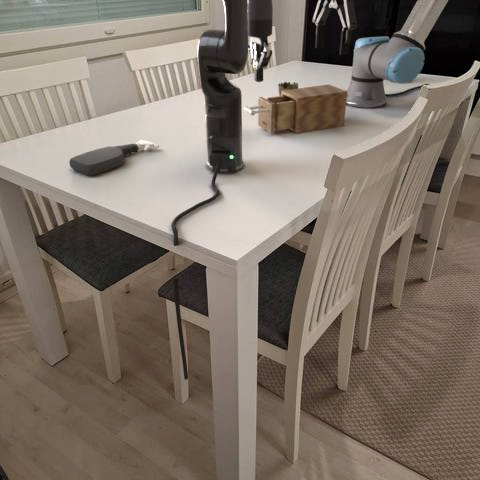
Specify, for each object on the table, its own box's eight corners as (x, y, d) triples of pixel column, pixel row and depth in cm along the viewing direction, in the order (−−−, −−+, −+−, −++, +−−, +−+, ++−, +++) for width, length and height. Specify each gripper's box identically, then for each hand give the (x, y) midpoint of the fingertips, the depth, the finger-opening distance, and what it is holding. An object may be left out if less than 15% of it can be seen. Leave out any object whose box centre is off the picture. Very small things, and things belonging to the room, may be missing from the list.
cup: (274, 107, 166) (275, 85, 162) (282, 102, 172) (282, 80, 168) (293, 109, 163) (294, 87, 159) (300, 104, 169) (301, 82, 165)
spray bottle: (67, 168, 120) (139, 144, 136) (91, 178, 114) (163, 151, 130) (65, 157, 118) (137, 134, 134) (89, 167, 112) (162, 142, 128)
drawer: (253, 136, 137) (253, 106, 132) (241, 127, 144) (241, 99, 139) (317, 126, 144) (319, 97, 139) (302, 118, 151) (304, 91, 147)
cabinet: (295, 133, 141) (297, 98, 136) (280, 124, 150) (281, 90, 144) (343, 125, 147) (347, 91, 142) (326, 116, 156) (329, 84, 150)
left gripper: (282, 18, 120) (280, 84, 130) (260, 14, 131) (260, 75, 140) (257, 20, 118) (256, 87, 127) (237, 15, 128) (238, 78, 137)
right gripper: (376, -29, 118) (365, 56, 130) (325, -30, 138) (319, 44, 149) (353, -29, 116) (344, 58, 127) (304, -29, 136) (300, 46, 147)
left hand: (258, 81), depth 134 cm, fingers closed
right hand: (331, 51), depth 138 cm, fingers open, 13 cm apart
